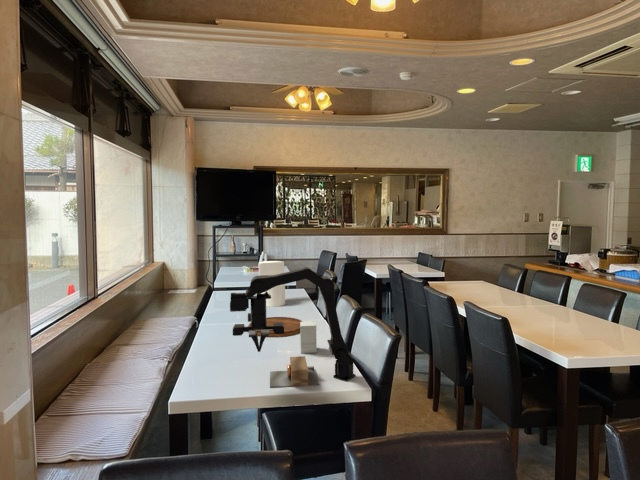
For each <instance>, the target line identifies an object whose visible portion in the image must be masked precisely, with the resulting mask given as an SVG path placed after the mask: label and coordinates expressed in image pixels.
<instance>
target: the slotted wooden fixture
mask: <svg viewBox="0 0 640 480" xmlns="http://www.w3.org/2000/svg"><path fill="white" fill-rule="evenodd" d="M289 365H291V377H289V378H288V377H287V370H275V371H274V370H272V371H269V388H270V389H271V388H286V387H287V388H289V387H291V388H292V387H307V386H319V385H320V382H319V379H318V375H317V372H316V368H314V374H308V367H309V366H308V363H307V359H306V356H305V355H303V356H302V355H301V356H290V357H289Z"/></svg>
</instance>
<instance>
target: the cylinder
mask: <svg viewBox="0 0 640 480" xmlns="http://www.w3.org/2000/svg"><path fill="white" fill-rule="evenodd" d="M282 273H285V262H284V261H283V260H282V261H281V260H266V261H264V260H263V261H260V262H258V276H262V275H277V274H282ZM265 292H266V291H265ZM265 292H263V293H261V294H264V293H265ZM267 292H268V294H270V295H271V299H266V308H276V307H283V306H285V305H286V284H283V285H279V286H276V287H273V288H272V289H270V290H268V291H267Z"/></svg>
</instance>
